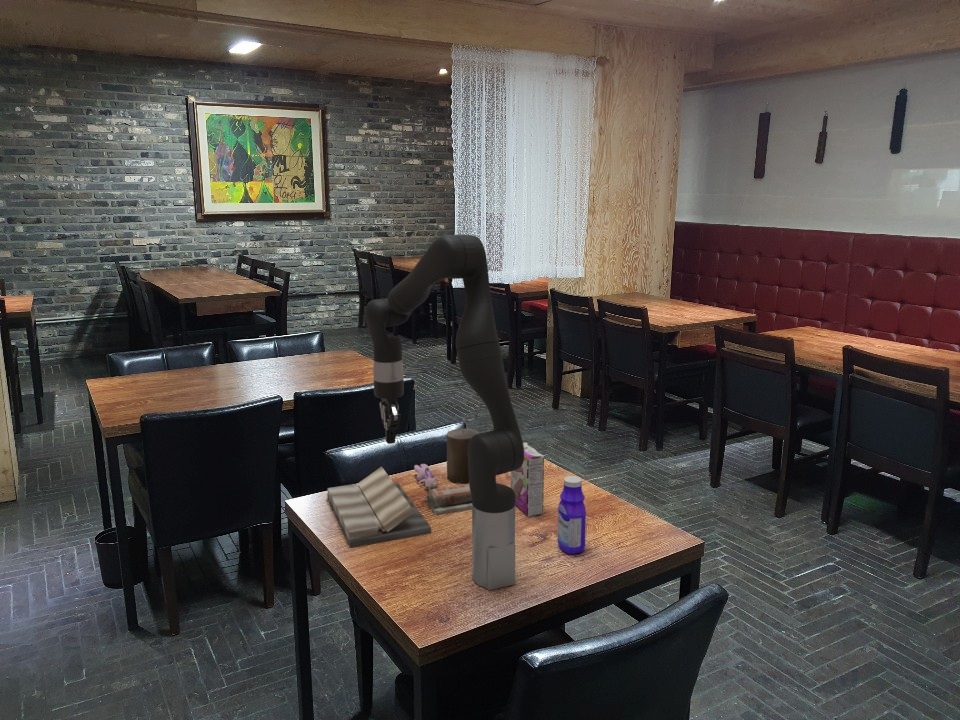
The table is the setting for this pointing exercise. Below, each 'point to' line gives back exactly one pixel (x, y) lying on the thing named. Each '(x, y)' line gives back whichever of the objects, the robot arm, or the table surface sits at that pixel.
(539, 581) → the table surface
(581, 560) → the table surface
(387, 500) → the loose plank
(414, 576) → the table surface
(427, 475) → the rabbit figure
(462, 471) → the pillar candle
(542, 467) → the candy bar box
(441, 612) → the table surface
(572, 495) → the bottle
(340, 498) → the floor section
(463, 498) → the packaged product
